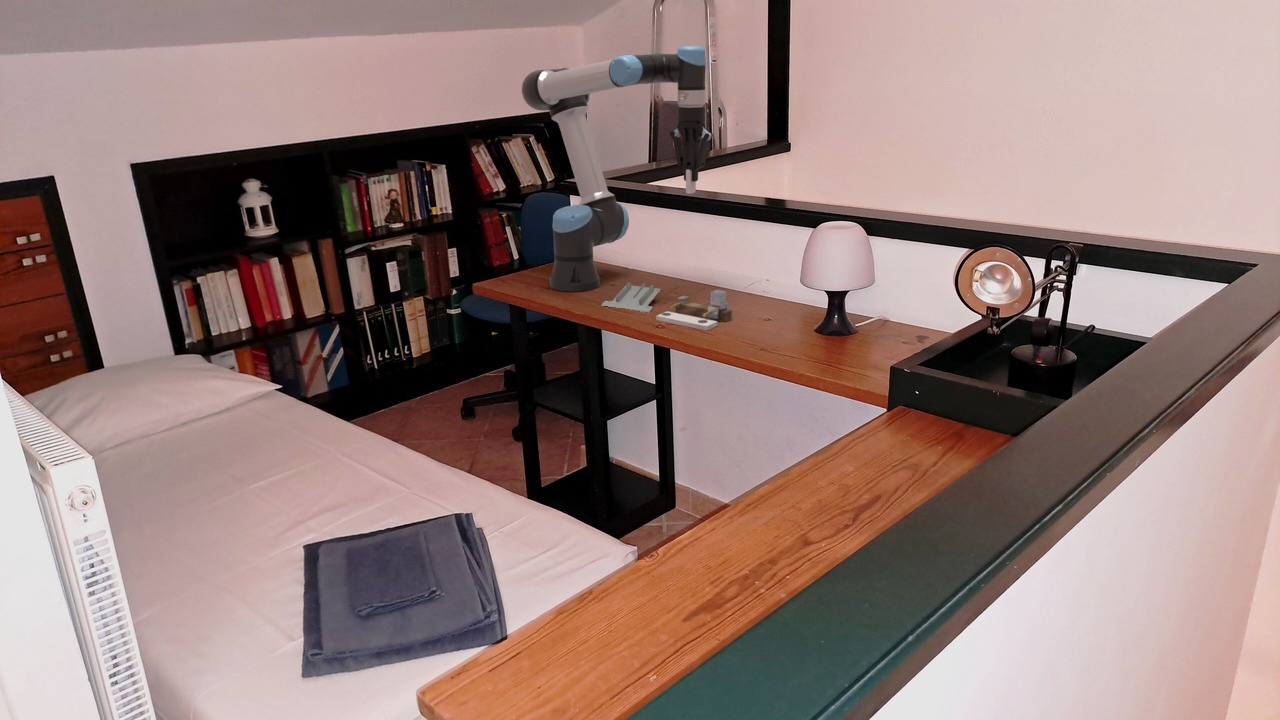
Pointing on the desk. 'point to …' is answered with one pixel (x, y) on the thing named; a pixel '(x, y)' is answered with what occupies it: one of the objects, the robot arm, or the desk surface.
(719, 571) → the desk surface
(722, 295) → the slider
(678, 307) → the brown fixture base
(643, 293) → the metal bracket
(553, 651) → the desk surface
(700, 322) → the hole plate
